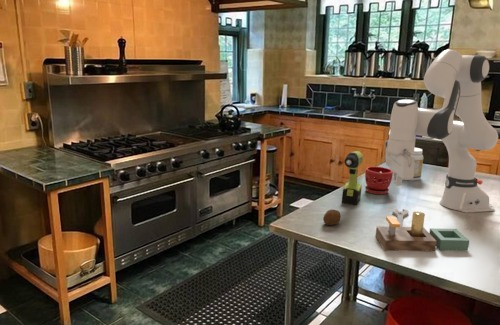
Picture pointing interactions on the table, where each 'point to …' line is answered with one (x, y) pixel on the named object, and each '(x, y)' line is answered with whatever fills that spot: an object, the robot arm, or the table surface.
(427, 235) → the socket block
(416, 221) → the gold rounded cylinder
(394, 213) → the adjustable wrench
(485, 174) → the table surface
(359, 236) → the table surface
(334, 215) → the potato
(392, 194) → the table surface
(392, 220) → the block
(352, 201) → the cordless drill
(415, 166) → the supplement tub
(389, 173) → the plant pot
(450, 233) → the green square frame
